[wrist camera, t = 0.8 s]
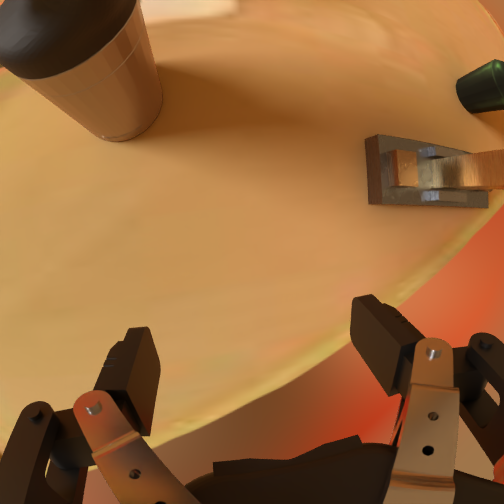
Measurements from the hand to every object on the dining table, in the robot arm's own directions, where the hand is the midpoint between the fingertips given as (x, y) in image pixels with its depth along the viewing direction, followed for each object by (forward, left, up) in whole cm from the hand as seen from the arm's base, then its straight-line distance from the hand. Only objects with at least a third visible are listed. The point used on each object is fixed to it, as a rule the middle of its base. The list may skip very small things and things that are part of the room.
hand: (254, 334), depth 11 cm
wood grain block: (-4, +30, -18) cm, 35 cm away
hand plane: (-4, +30, -21) cm, 37 cm away
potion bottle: (-17, +45, -21) cm, 53 cm away
